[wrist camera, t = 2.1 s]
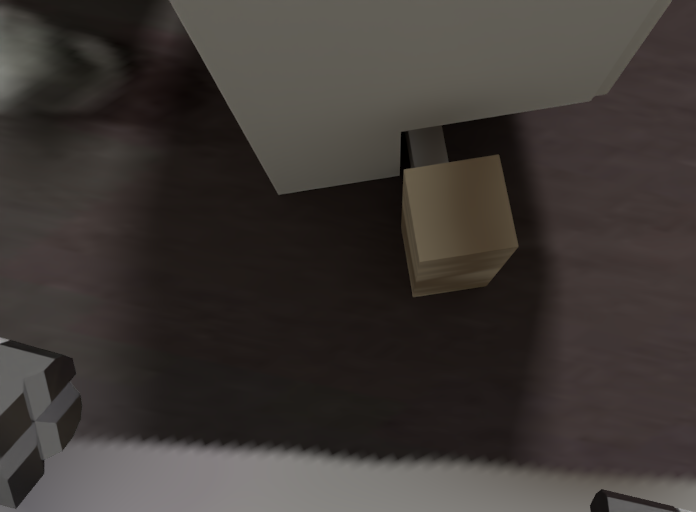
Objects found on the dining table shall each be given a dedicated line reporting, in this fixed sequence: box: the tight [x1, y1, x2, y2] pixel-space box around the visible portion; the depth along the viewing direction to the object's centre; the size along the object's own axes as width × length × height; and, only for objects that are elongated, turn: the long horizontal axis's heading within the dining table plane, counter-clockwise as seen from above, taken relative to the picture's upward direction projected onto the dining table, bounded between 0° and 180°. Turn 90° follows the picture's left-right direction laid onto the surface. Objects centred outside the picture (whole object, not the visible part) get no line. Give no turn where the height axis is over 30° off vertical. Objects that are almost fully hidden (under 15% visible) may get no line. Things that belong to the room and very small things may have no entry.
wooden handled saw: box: [401, 125, 519, 297], centre depth 32 cm, size 4×21×9 cm, turn 8°
